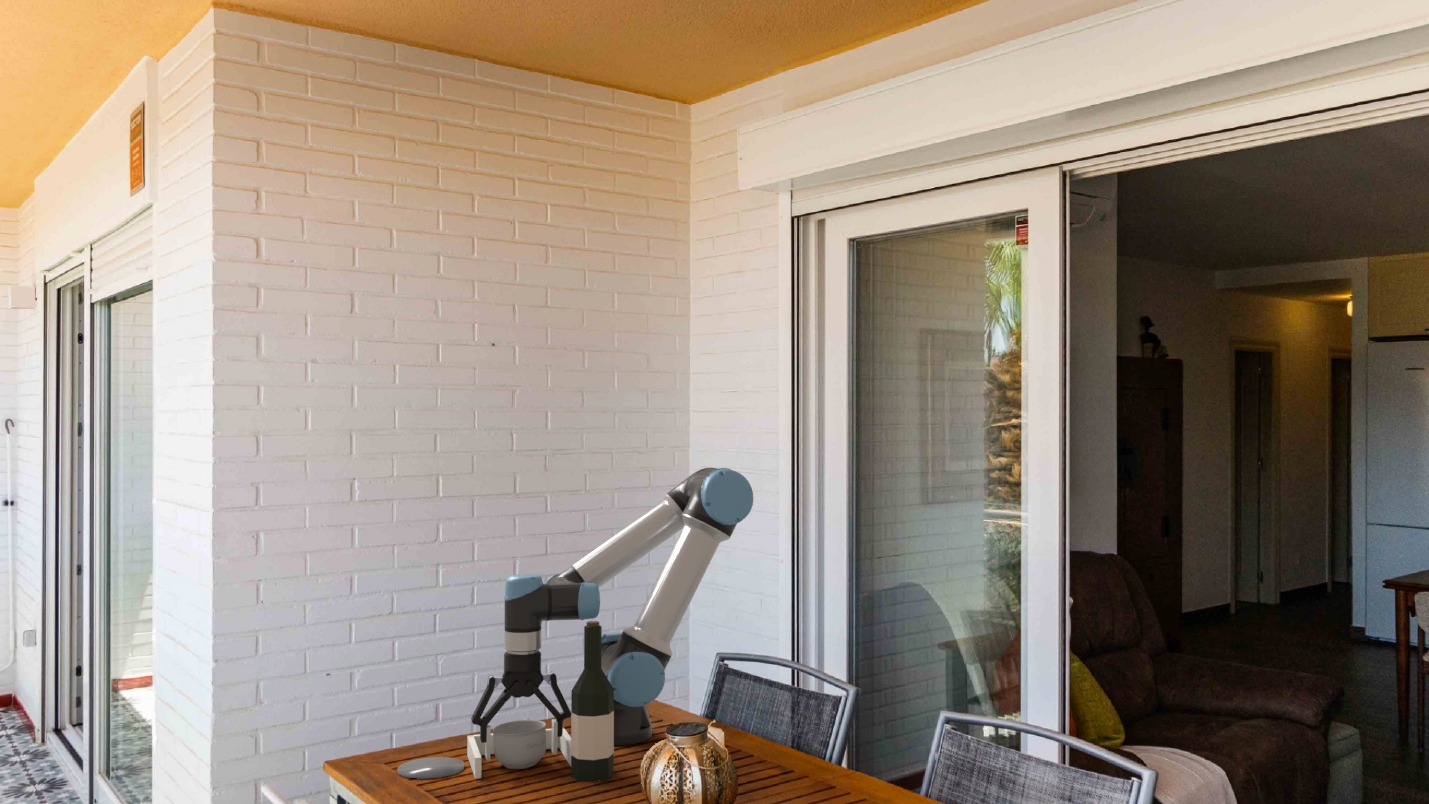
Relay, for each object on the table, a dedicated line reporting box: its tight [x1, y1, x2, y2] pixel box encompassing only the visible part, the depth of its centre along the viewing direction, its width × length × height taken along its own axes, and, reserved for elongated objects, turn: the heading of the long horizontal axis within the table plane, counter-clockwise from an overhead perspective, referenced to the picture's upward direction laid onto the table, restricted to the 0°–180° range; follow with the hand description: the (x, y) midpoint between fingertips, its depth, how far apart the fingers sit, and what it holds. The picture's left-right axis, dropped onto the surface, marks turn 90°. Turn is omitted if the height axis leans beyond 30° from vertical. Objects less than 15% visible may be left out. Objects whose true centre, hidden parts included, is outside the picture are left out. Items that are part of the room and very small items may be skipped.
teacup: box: [491, 717, 547, 770], centre depth 222 cm, size 14×11×8 cm
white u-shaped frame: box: [466, 727, 571, 780], centre depth 222 cm, size 20×17×4 cm
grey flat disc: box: [396, 756, 465, 780], centre depth 217 cm, size 13×13×1 cm
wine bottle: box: [570, 620, 615, 783], centre depth 214 cm, size 8×8×30 cm
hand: (521, 755), depth 222 cm, fingers open, 13 cm apart
